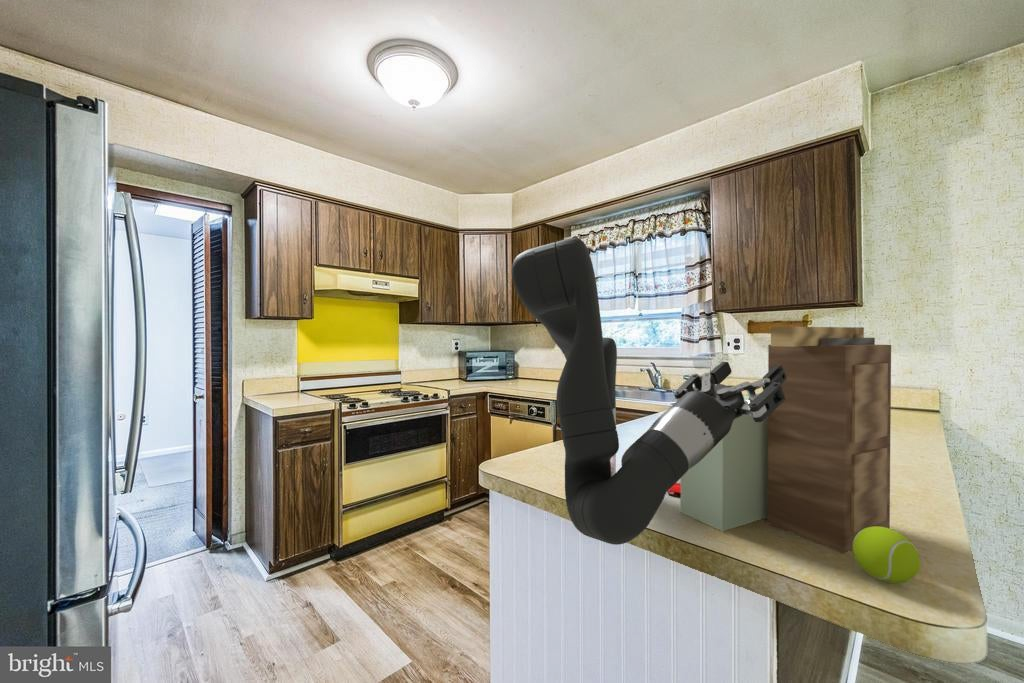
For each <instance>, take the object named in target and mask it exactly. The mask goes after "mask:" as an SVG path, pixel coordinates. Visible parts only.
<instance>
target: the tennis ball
mask: <svg viewBox="0 0 1024 683" xmlns="http://www.w3.org/2000/svg"><path fill="white" fill-rule="evenodd" d="M852 552H853V556H854V558H855V561H856V563H857V564H858V565H859V566H860V567H861V569H862V570H863V571H865V572H866V573H867V574H868V575H869V576H871V577H873V578H875V579H876V580H879V581H882V582H885V583H890V584H903V583H907V582H909V581H912V579H914V578H915V577H916V576H917V575H918V573H919V572H920V568H921V557H920V554H919V552H918V549H917V548H916V546H915V545H914V544H913V542H912V541H911V540H910V539H909V538H907V537H906V536H904V535H903V534H902V533H900V532H899V531H896V530H894V529H893V528H890V529H889V528H885V527H879V526H874V527H868V528H865V529H863V530H861V531H860V532H859V533H858V534H857V535H856V536H855V538H854V540H853V550H852Z"/></svg>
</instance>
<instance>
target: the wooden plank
mask: <svg viewBox="0 0 1024 683" xmlns="http://www.w3.org/2000/svg"><path fill="white" fill-rule="evenodd" d="M821 338H865V328H864V326H863V327H859V326H858V327H857V326H856V327H855V326H853V327H851V326H850V327H849V326H848V327H847V326H846V327H845V326H837V327H835V326H771V327H770V345H771V346H788V347H794V346H821Z"/></svg>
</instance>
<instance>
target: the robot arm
mask: <svg viewBox="0 0 1024 683" xmlns="http://www.w3.org/2000/svg"><path fill="white" fill-rule="evenodd" d="M511 265H512V266H511V279H512V283H513V287H514V290H515V291H516V294H517V296H518V299H519V300H520V301H521V303H522V304H523V307H525V309H526V310H527V311H528V312H529V313H530V314H531V315H532V317H534V318H535V319H536V320H537V321H539V323H540V324H542V325H543V326H544V328H545V329H546V330H547V332H548V334H549V335H550V337H551V340H552V341H553V342H554V343H555V345H556V346H557V347H558V348H559V349H560V351H561V352H562V354H563V356H564V358H565V363H564V366H563V368H562V372H561V374H560V377H559V380H558V384H557V389H556V397H555V398H556V403H555V404H556V410H557V416H558V421H559V427H560V432H561V437H562V443H563V447H564V454H565V455H564V456H565V458H564V494H565V495H564V496H565V497H564V498H565V504H566V507H567V512H568V515H569V518H570V521H571V522H572V524H573V526H574V527H575V528H576V530H577V531H579V533H581V534H582V535H583V536H585V537H589V538H591V539H595V540H598V541H600V542H604V543H606V544H610V545H613V546H614V545H624V544H627V543H629V542H631V541H633V540H634V539H636V538H637V537H638V536H640V534H642V533H643V532H644V531H645V530H646V529H647V527H648V526H649V525H650V523H651V521H652V520H653V518H654V516H655V514H656V513H657V512H658V510H659V508H660V507H661V504H662V502H663V500H664V498H665V497H666V494H667V491H668V490H669V489H670V488H671V487H672V486H673V485H674V484H675V483H676V482H677V481H678V480H679V479H680V478H681V477H682V476H683V475H684V474H685V473H686V472H687V471H688V470H689V469H691V468H692V467H693V466H695V465H696V464H698V463H699V462H700V461H701V460H702V459H703V458H704V457H705V456H706V455H707V454H708V453H709V452H710V451H711V450H712V449H713V448H714V447H715V446H716V445H717V444H718V443H719V442H720V441H721V440H722V439H723V438H724V437H725V436H726V435H727V434H728V433H729V431H730V429H731V426H732V423H733V421H734V419H736V418H738V417H740V416H742V415H743V414H745V415H750V416H752V417H753V419H754V421H755V422H762V421H763V420H764V419H765V418H766V417H768V416H769V415H770V414H771V413H772V412H773V411H774V410H775V409H776V408H777V407H778V406H779V405H780V404H781V403H783V402H784V401H785V400H786V398H785V395H784V392H783V389H782V387H781V384H782V383H783V382H784V381H785V380H786V378H787V377H786V374H785V371H784V369H783V367H782V366H781V365H775V366H774V367H773V368H772V369H771V370H770V371H769V372H768V371H767V373H766V374H764V376H762V378H761V379H757V380H756V381H753V382H750V381H744V382H741V383H738V384H736V385H734V384H733V385H725V384H722V383H723V381H725V380H727V379H726V378H728V377H729V376H730V375H731V374H732V368H731V366H730V363H729V361H722V362H720V363H719V364H717V365H716V366H715V367H714V368H713V369H712V370H711V371H709V372H704V373H703V374H702V375H699V374H698V373H694V374H693V373H692V375H690V376H689V377H688V378H687V379H686V380H685V381H684V382H683V383H682V384H681V385H680V386H679V387H678V388H677V389H676V390H675V391H673V396H674V398H675V402H674V403H673V404H672V405H671V406H670V407H669V408H668V409H667V410H666V411H664V413H662V414H661V415H660V416H659V417H657V419H656V420H655V421H654V422H652V425H650V427H649V428H648V429H647V430H646V432H644V433H643V434H642V435H641V436H639V438H638V439H636V440H635V441H634V442H633V443H632V444H631V445H630V446H629V447H628V448H627V449H626V450H625V451H624V452H623V454H622V457H621V464H620V465H621V467H620V468H619V469H618V470H617V469H616V468H617V459H616V458H617V455H616V454H617V453H618V452H619V448H620V443H619V442H620V441H619V434H618V430H617V422H616V421H617V420H616V419H617V418H616V416H617V415H616V414H617V413H616V411H617V410H616V408H617V407H616V405H617V404H616V403H617V402H616V393H617V392H616V388H617V387H616V382H617V378H616V377H617V363H618V351H617V350H618V349H617V344H616V341H615V339H614V338H613V337H603V328H602V320H601V319H602V318H601V312H600V311H601V310H600V302H599V295H598V294H599V293H598V288H597V280H596V275H595V273H596V272H595V269H594V264H593V261H592V258H591V255H590V252H589V249H588V247H587V245H586V243H585V242H584V241H583V240H582V239H581V238H579V237H571V238H566V239H562V240H558V241H554V242H551V243H547V244H543V245H540V246H536V247H532V248H528V249H526V250H525V251H523V252H521V253H518V255H517V256H516V257H515V258H514V260H513V262H512V264H511ZM693 385H694V387H693ZM760 388H761V389H762V391H761V392H759V393H756V390H758V389H760ZM744 391H746V393H747V396H749V399H748V400H747V401H745V402H744V397H743V395H744V394H743V392H744ZM773 397H774V398H773Z"/></svg>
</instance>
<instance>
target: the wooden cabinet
mask: <svg viewBox="0 0 1024 683" xmlns="http://www.w3.org/2000/svg"><path fill="white" fill-rule="evenodd" d="M875 338H876V337H864V338H821V346H794V347H788V346H771V344H768V347H767V348H768V349H767V350H768V354H767V355H768V356H767V357H768V358H767V362H768V364H767V365H768V366H767V367H768V368H767V369H768V370H767V373H768V372H769V371H770V370H771V369H772V368H773V367H774V366H775V365H781V366H782V367H783V369H784V371H785V374H786V377H787V378H786V380H785V381H784V382H783V383H782V384H781V387H782V389H783V392H784V395H785V398H786V400H785V401H784V402H783V403H781V404H780V405H779V406H778V407H777V408H776V409H775V410H774V411H773V412H772V413H771V414H770V415H769V416H768V517H767V524H768V525H771V526H774V527H777V528H779V529H780V530H781V529H782V530H784V531H787V532H789V533H790V534H793V535H796V536H800V537H801V538H804V539H806V540H809V541H812V542H814V543H817V544H818V545H821V546H824V547H826V548H829V549H832V550H834V551H837V552H839V553H841V554H846V553H849V552H852V551H853V540H854V538H855V536H856V535H857V534H858V533H859V532H860V531H861V530H863V529H865V528H868V527H874V526H879V527H885V528H889V529H891V528H890V522H891V521H890V520H891V519H890V517H891V509H890V508H891V506H890V505H891V501H890V500H891V422H892V421H891V418H892V417H891V416H892V414H891V412H892V411H891V409H892V408H891V403H892V401H891V400H892V398H891V397H892V396H891V395H892V391H891V390H892V386H891V385H892V344H875V340H876V339H875ZM773 398H774V397H773Z"/></svg>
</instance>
